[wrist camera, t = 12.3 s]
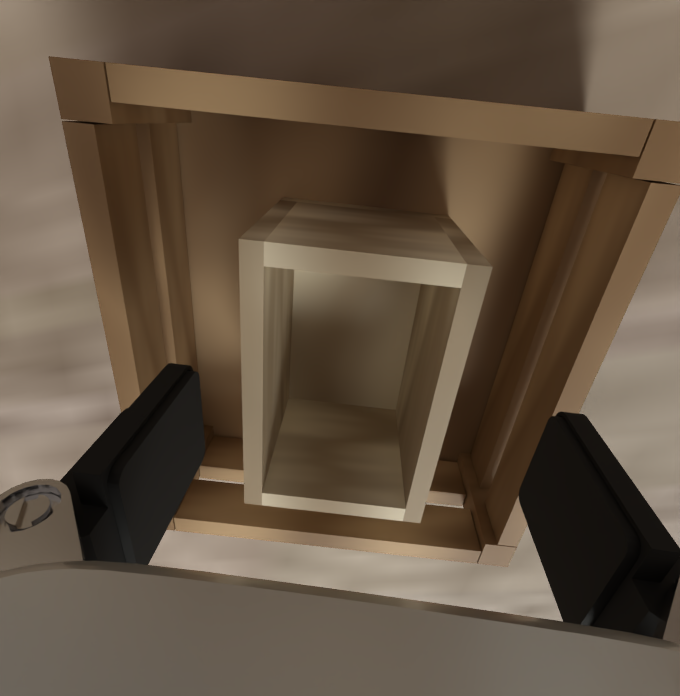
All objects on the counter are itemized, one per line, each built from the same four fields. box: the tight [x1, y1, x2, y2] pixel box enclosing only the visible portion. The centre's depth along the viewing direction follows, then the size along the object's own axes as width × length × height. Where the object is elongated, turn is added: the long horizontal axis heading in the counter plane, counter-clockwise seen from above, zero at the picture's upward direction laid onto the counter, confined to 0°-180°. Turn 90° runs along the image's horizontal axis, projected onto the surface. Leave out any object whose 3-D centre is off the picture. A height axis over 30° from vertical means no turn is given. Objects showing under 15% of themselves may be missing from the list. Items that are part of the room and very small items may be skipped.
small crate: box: [239, 197, 493, 523], centre depth 15 cm, size 6×9×6 cm, turn 174°
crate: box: [49, 56, 680, 567], centre depth 15 cm, size 14×16×6 cm
